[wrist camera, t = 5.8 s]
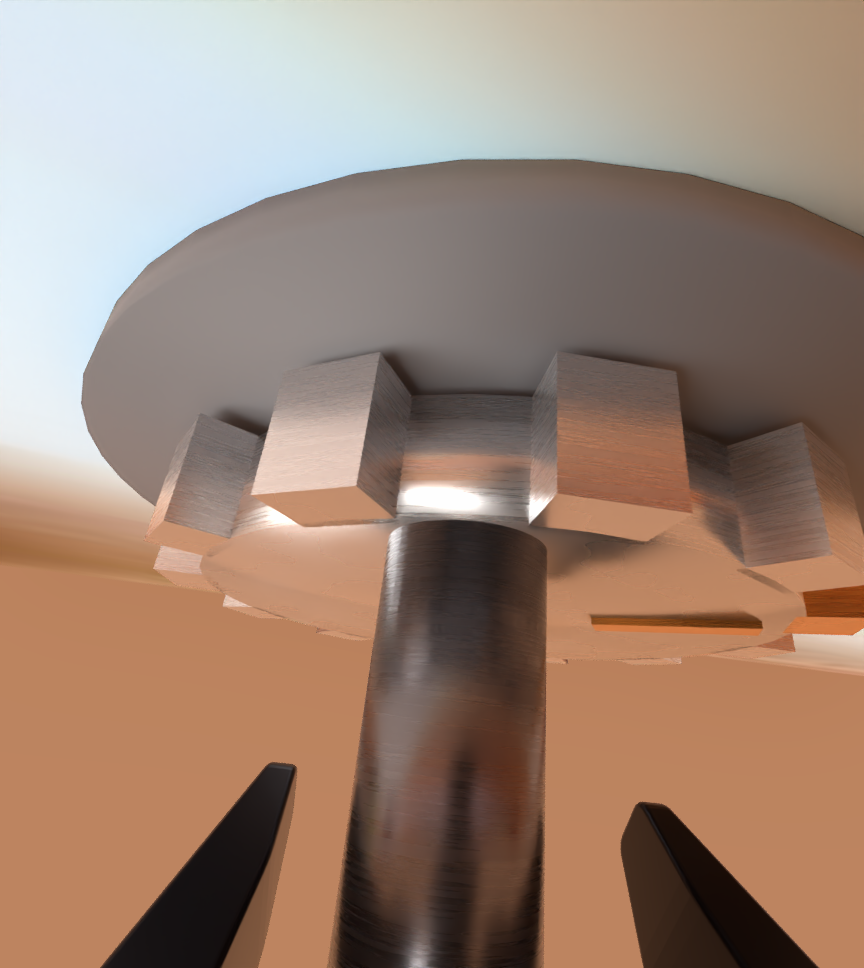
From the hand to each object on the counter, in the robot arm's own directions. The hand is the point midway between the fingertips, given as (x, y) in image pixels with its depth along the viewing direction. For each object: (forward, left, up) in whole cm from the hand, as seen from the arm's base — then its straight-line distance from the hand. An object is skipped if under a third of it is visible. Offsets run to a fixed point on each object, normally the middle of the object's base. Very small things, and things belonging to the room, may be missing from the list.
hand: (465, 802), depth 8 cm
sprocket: (+2, +3, -5) cm, 7 cm away
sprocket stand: (+2, +3, -7) cm, 8 cm away
